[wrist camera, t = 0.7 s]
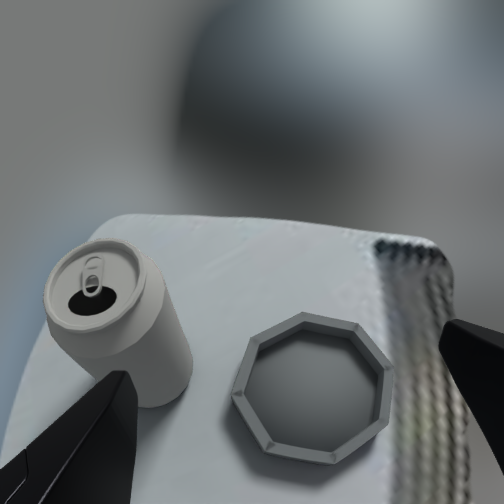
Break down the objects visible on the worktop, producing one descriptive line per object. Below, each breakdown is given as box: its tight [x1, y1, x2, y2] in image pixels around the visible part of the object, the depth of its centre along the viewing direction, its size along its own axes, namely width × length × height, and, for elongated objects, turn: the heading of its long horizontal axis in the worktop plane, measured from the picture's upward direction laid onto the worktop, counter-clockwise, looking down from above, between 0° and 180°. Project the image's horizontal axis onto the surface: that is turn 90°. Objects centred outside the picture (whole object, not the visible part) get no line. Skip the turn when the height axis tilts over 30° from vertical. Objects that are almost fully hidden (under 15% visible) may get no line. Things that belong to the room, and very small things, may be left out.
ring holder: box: [231, 312, 394, 465], centre depth 20 cm, size 12×12×2 cm
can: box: [43, 238, 193, 408], centre depth 18 cm, size 8×8×12 cm
